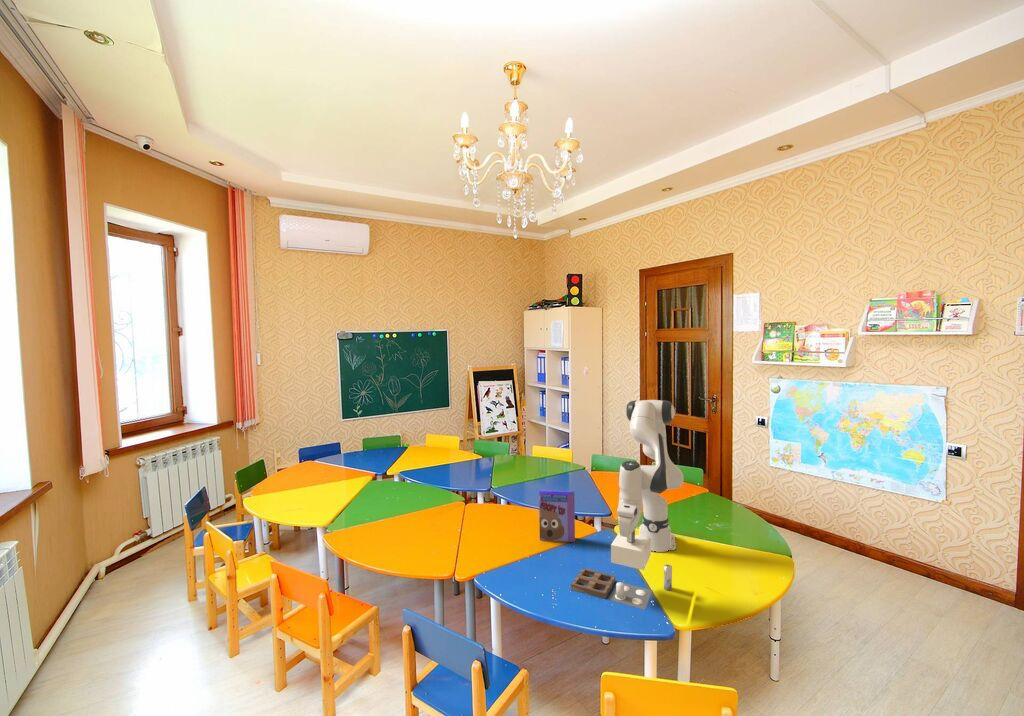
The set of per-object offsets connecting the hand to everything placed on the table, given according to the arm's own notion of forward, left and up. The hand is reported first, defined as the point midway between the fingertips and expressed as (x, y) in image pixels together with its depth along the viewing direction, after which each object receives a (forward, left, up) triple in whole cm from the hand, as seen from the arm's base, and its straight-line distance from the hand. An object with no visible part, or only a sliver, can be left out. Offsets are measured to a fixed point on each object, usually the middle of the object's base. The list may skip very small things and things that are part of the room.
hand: (630, 538), depth 173 cm
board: (+2, 0, -22) cm, 23 cm away
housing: (0, 0, -8) cm, 8 cm away
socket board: (+2, -15, -22) cm, 27 cm away
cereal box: (-31, -45, -23) cm, 59 cm away
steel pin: (-9, +12, -23) cm, 27 cm away
